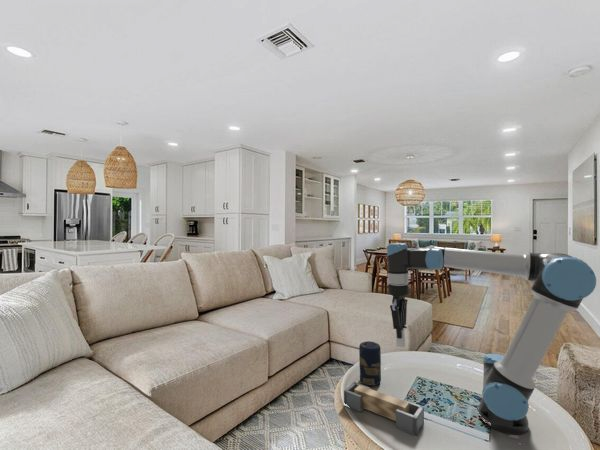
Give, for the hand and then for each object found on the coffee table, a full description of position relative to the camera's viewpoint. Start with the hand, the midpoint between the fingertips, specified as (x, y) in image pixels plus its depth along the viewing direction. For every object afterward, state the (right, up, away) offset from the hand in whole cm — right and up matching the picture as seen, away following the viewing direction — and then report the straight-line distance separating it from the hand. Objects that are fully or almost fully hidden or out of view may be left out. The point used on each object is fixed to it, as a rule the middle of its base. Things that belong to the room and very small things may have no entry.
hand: (400, 345), depth 117 cm
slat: (-8, -25, -1) cm, 26 cm away
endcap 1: (-16, -25, +6) cm, 30 cm away
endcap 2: (+1, -25, -8) cm, 27 cm away
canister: (-7, -25, +23) cm, 35 cm away
